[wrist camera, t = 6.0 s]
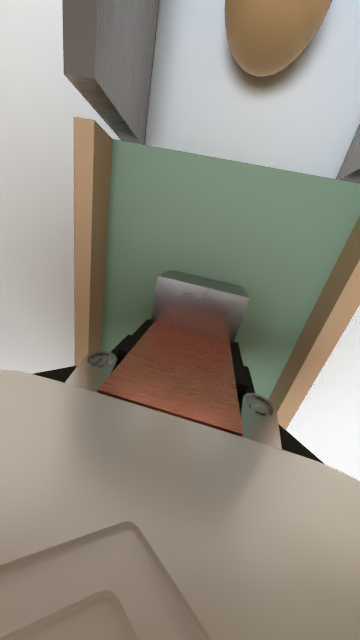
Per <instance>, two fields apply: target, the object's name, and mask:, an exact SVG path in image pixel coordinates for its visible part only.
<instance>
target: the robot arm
mask: <svg viewBox="0 0 360 640" xmlns="http://www.w3.org/2000/svg"><path fill="white" fill-rule="evenodd" d="M153 323H154V322H151V319H147V320H146V321H145V322H144V323H143V324H142V325H141V326H140V327H139V328H138V329H137V330H136V331H135V332H134V333H133V334H132V335H130V334H128V335H127V336H126V337H125V338H124V339H123V340H122V341H121V342H120V343H119V344H118V345H117V346H116V347H115V348H114V349H113V350H112V351H111V352H108V351H95V352H91V353H89V354H87V355H86V356H85V357H84V359H83V360H82V361H81V362H80V364H79V365H78V366H73V367H67V368H62V369H56V370H51V371H46V372H40V373H35V374H29V373H23V372H18V371H10V370H0V640H360V481H358V480H357V479H355V478H353V477H351V476H349V475H347V474H345V473H343V472H341V471H339V470H337V469H334V468H332V467H330V466H327V465H325V464H324V463H323V462H322V461H320V460H319V459H318V458H317V457H316V456H315V455H314V454H312V453H311V452H310V451H309V450H308V449H307V448H305V447H304V446H303V445H302V444H301V443H300V442H299V441H297V440H296V439H295V438H294V437H293V436H292V435H291V434H289V433H288V432H287V431H286V430H285V429H284V428H283V427H281V426H280V425H279V424H278V416H277V411H276V408H275V407H274V405H273V404H272V403H271V402H270V401H269V400H268V399H266V398H265V397H263V396H261V395H259V394H256V393H255V390H254V386H253V382H252V379H251V375H250V371H249V368H248V367H247V366H244V365H243V361H242V357H241V353H240V348H239V344H238V342H234V343H231V342H230V348H231V355H232V362H233V368H234V375H235V382H236V389H237V396H238V402H239V409H240V416H241V423H242V430H243V435H242V437H241V436H237V435H234V434H231V433H228V432H225V431H221V430H218V429H215V428H212V427H208V426H205V425H202V424H199V423H195V422H192V421H189V420H186V419H182V418H179V417H176V416H173V415H169V414H166V413H163V412H159V411H156V410H153V409H150V408H146V407H143V406H140V405H136V404H133V403H130V402H126V401H123V400H120V399H117V398H113V397H110V396H107V395H103V394H100V393H97V392H98V389H99V388H100V386H101V385H102V384H103V383H104V382H105V380H106V379H107V378H108V377H109V376H110V374H111V373H112V372H113V371H114V370H115V368H116V367H117V366H118V365H119V364H120V362H121V361H122V360H123V359H124V358H125V356H126V355H127V354H128V353H129V352H130V351H131V349H132V348H133V347H134V346H135V345H136V343H137V342H138V341H139V340H140V339H141V337H142V336H143V335H144V334H145V333H146V331H147V330H148V329H149V328H150V327H151V325H152V324H153Z"/></svg>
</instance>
